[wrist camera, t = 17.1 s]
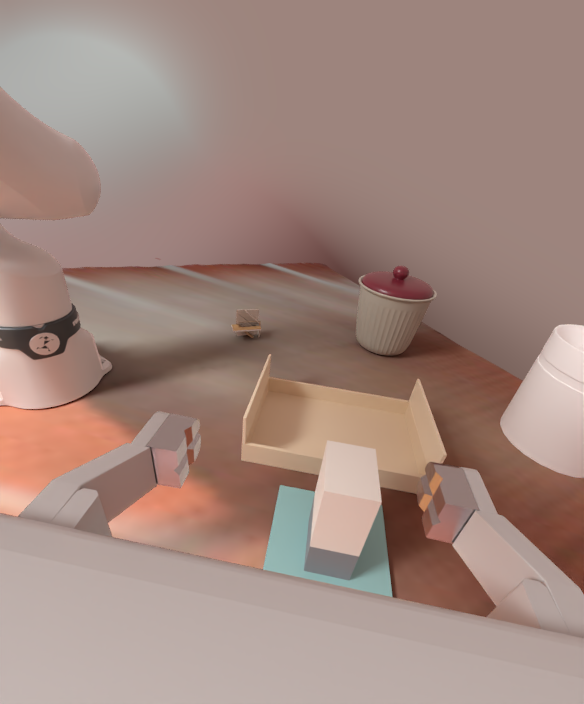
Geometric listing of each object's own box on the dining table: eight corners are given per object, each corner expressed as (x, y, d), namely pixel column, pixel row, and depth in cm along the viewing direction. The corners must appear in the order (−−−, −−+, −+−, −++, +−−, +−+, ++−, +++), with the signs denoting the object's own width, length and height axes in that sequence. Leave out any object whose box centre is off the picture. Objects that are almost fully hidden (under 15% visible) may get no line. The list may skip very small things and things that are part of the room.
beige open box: (425, 495, 45) (447, 455, 41) (241, 460, 47) (242, 417, 43) (405, 415, 60) (419, 379, 56) (265, 390, 62) (268, 353, 57)
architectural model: (261, 342, 79) (263, 314, 75) (233, 344, 77) (234, 316, 73) (257, 335, 82) (259, 309, 78) (231, 337, 79) (231, 310, 76)
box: (349, 580, 34) (381, 502, 27) (303, 570, 35) (323, 490, 27) (348, 526, 39) (375, 449, 32) (308, 518, 40) (327, 440, 33)
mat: (395, 639, 31) (397, 636, 30) (255, 608, 32) (255, 605, 31) (380, 507, 43) (382, 504, 42) (279, 487, 44) (280, 484, 43)
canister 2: (486, 405, 65) (535, 318, 55) (567, 419, 64) (631, 333, 54) (524, 468, 52) (598, 367, 41) (627, 487, 51) (729, 388, 40)
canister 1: (331, 339, 83) (347, 259, 73) (372, 324, 94) (391, 253, 83) (388, 372, 72) (417, 284, 61) (428, 351, 83) (458, 273, 72)
